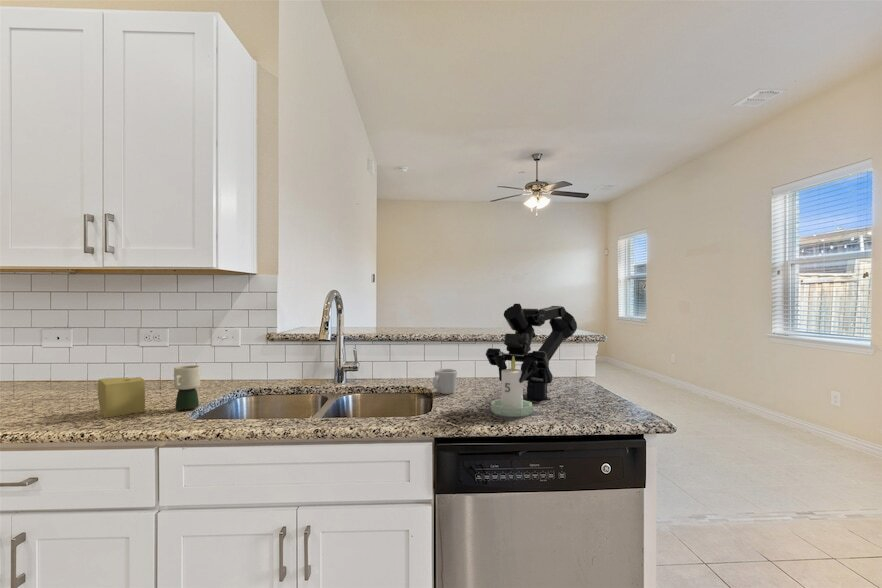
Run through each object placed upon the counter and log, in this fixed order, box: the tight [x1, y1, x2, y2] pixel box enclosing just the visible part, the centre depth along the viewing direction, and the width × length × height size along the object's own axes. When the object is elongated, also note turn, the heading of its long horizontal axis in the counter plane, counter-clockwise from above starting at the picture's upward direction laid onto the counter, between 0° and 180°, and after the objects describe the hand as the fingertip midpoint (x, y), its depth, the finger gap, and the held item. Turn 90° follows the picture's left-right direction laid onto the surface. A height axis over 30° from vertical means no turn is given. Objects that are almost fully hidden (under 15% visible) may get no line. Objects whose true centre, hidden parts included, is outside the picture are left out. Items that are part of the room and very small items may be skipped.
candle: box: [500, 356, 524, 408], centre depth 132 cm, size 6×6×15 cm
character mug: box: [173, 364, 201, 411], centre depth 136 cm, size 11×7×13 cm, turn 176°
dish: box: [490, 398, 534, 418], centre depth 132 cm, size 12×12×2 cm
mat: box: [480, 408, 544, 422], centre depth 132 cm, size 13×13×1 cm
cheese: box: [97, 376, 146, 419], centre depth 133 cm, size 10×11×10 cm
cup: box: [432, 368, 458, 395], centre depth 158 cm, size 11×8×8 cm
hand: (510, 381), depth 131 cm, fingers closed on candle, 6 cm apart
